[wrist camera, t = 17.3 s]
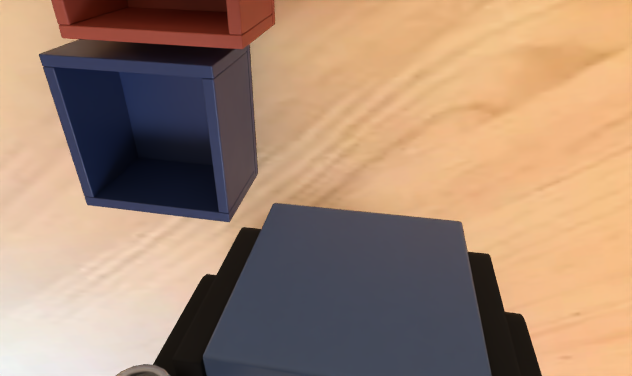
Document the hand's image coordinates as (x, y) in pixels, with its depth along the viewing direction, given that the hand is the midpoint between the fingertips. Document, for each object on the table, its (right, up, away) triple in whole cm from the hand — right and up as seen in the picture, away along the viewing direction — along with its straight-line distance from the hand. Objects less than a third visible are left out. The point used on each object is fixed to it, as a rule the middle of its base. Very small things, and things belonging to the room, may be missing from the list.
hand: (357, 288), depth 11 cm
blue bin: (-9, +8, +16) cm, 20 cm away
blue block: (0, 0, 0) cm, 0 cm away
